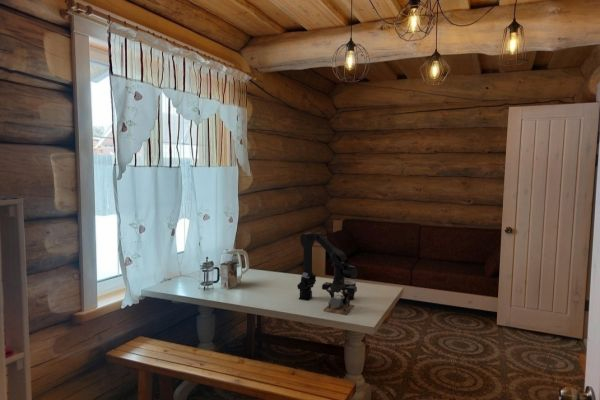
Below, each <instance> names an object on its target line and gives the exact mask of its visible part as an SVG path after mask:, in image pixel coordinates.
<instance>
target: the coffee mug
mask: <svg viewBox="0 0 600 400" xmlns="http://www.w3.org/2000/svg"><path fill="white" fill-rule="evenodd" d="M356 284H357V282H356V281H355V280H353V279H345V286H344V287H349V286H350V285H351V286H356ZM356 287H357V286H356ZM345 292H346V290H341V291H340V292H339V293H341V295H342V296H345V294H344V293H345ZM355 295H356V292H355V293H354V294H350V295H349V296H348V301H353V300H354V299H355Z"/></svg>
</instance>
